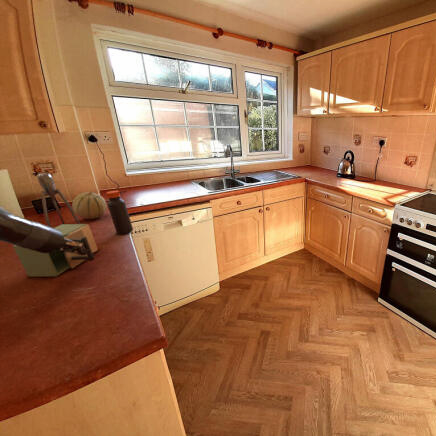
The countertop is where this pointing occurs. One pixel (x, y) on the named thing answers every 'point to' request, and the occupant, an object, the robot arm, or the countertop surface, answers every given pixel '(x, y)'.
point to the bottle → (119, 213)
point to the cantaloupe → (89, 205)
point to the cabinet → (52, 254)
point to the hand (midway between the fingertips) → (85, 252)
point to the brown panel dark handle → (76, 258)
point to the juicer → (52, 196)
